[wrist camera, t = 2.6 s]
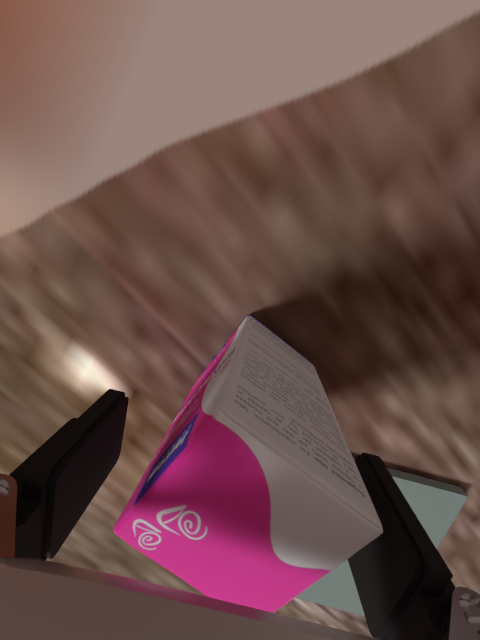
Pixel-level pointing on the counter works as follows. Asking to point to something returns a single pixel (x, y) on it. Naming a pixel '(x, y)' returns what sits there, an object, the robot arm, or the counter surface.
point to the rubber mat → (431, 510)
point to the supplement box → (252, 480)
